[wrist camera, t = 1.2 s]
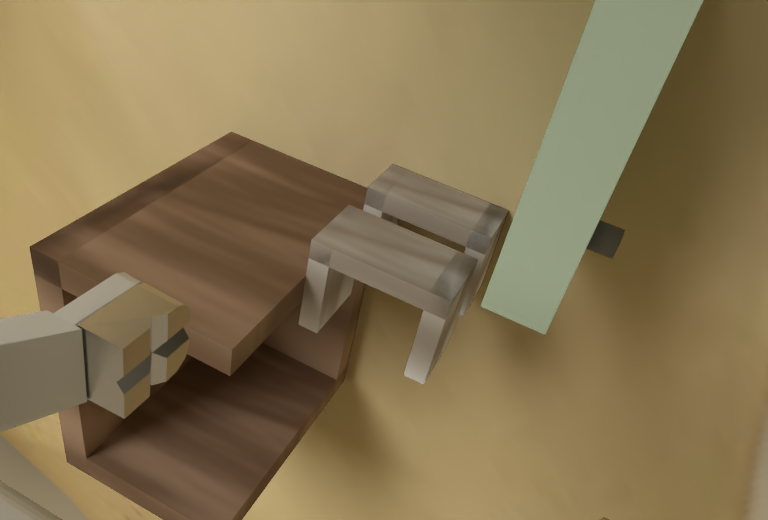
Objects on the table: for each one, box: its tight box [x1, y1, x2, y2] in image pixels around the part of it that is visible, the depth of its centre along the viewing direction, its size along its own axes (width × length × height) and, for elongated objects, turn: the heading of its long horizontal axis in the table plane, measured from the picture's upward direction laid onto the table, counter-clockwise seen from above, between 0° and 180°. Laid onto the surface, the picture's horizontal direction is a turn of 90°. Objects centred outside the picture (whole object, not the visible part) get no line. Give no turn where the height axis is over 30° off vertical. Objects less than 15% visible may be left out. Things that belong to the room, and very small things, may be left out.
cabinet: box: [30, 132, 508, 520], centre depth 34 cm, size 17×16×14 cm
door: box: [481, 0, 703, 335], centre depth 23 cm, size 13×4×10 cm, turn 169°
